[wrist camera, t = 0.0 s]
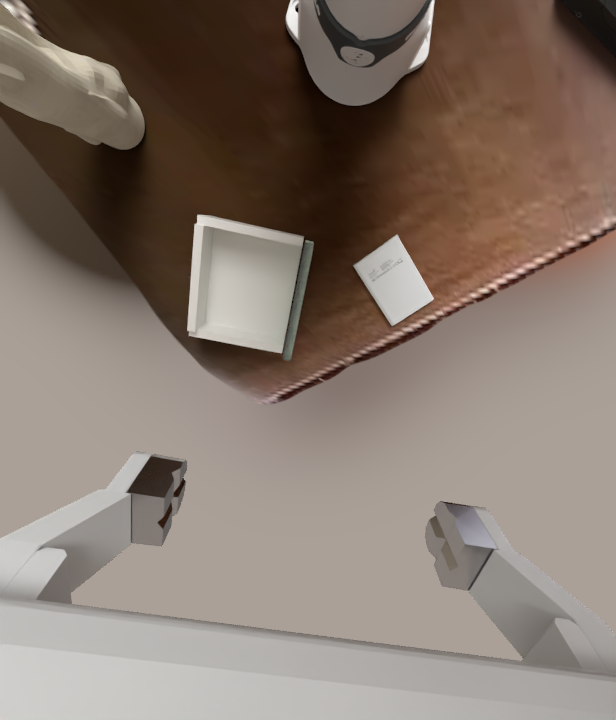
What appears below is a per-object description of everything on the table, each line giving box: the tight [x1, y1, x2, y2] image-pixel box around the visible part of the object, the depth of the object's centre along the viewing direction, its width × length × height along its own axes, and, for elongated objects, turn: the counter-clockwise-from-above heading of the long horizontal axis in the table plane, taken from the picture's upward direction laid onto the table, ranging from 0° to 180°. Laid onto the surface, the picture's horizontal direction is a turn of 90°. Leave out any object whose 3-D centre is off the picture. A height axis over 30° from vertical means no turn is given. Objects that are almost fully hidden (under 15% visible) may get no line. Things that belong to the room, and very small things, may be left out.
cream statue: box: [0, 3, 145, 150], centre depth 33 cm, size 9×8×30 cm
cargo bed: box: [187, 215, 304, 354], centre depth 52 cm, size 18×15×7 cm
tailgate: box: [283, 240, 314, 361], centre depth 51 cm, size 17×1×8 cm, turn 168°
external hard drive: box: [353, 235, 434, 326], centre depth 55 cm, size 2×8×12 cm
